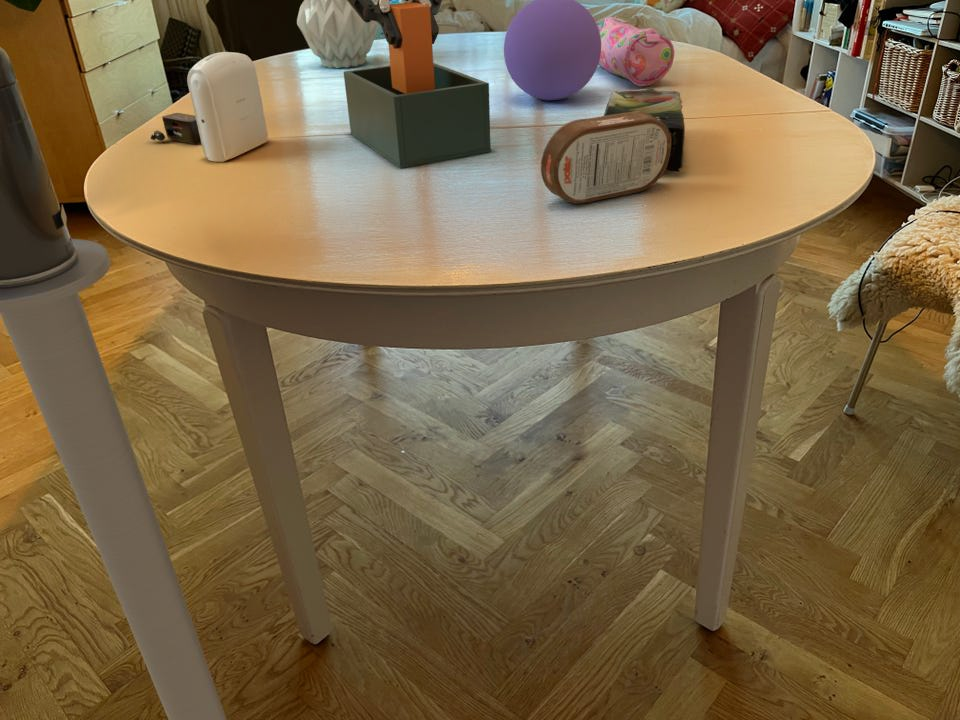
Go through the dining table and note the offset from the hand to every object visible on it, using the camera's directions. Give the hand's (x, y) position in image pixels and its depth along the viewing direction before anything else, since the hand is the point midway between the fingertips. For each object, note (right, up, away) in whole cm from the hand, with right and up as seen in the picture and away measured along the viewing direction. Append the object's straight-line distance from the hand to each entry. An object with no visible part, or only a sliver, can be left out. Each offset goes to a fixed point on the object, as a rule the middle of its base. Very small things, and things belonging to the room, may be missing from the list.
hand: (415, 41), depth 94 cm
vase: (-19, +20, +59) cm, 65 cm away
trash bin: (0, -10, +8) cm, 13 cm away
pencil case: (+34, +10, +40) cm, 53 cm away
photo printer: (-25, -12, +8) cm, 28 cm away
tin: (+22, -22, -12) cm, 33 cm away
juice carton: (+28, -14, +1) cm, 31 cm away
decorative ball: (+19, +2, +27) cm, 34 cm away
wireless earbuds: (-34, -9, +13) cm, 38 cm away
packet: (-1, -4, +5) cm, 6 cm away
